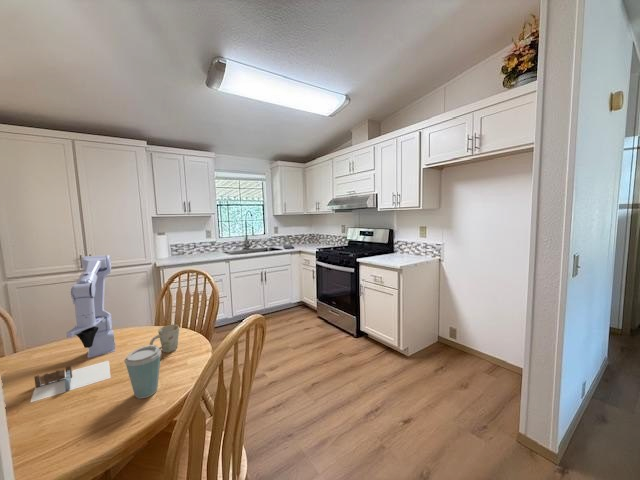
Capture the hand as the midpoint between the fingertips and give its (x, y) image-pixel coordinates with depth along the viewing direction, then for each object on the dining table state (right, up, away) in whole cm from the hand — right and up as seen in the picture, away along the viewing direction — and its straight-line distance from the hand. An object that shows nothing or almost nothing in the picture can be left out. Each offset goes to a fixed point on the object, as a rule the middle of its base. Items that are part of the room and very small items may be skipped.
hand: (88, 346), depth 107 cm
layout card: (0, -10, -6) cm, 12 cm away
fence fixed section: (-6, -10, -8) cm, 14 cm away
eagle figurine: (+23, -10, +1) cm, 25 cm away
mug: (+22, -8, +15) cm, 28 cm away
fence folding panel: (+1, -10, -10) cm, 14 cm away
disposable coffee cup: (+31, -11, -13) cm, 36 cm away
